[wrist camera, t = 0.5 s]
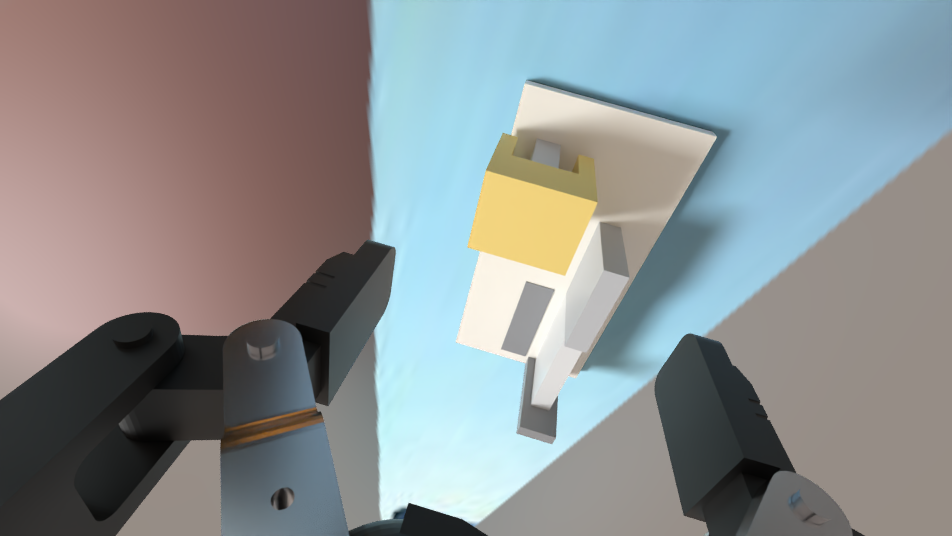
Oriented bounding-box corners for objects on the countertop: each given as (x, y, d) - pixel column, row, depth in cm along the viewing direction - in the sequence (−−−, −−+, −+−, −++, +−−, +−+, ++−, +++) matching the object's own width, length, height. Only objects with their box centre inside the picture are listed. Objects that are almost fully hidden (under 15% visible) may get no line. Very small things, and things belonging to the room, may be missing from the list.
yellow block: (502, 132, 26) (486, 170, 21) (593, 158, 26) (597, 202, 21) (485, 200, 29) (467, 247, 24) (567, 224, 29) (565, 275, 24)
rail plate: (526, 79, 26) (508, 118, 19) (712, 131, 25) (762, 190, 19) (458, 335, 40) (434, 408, 34) (575, 370, 40) (575, 451, 33)
